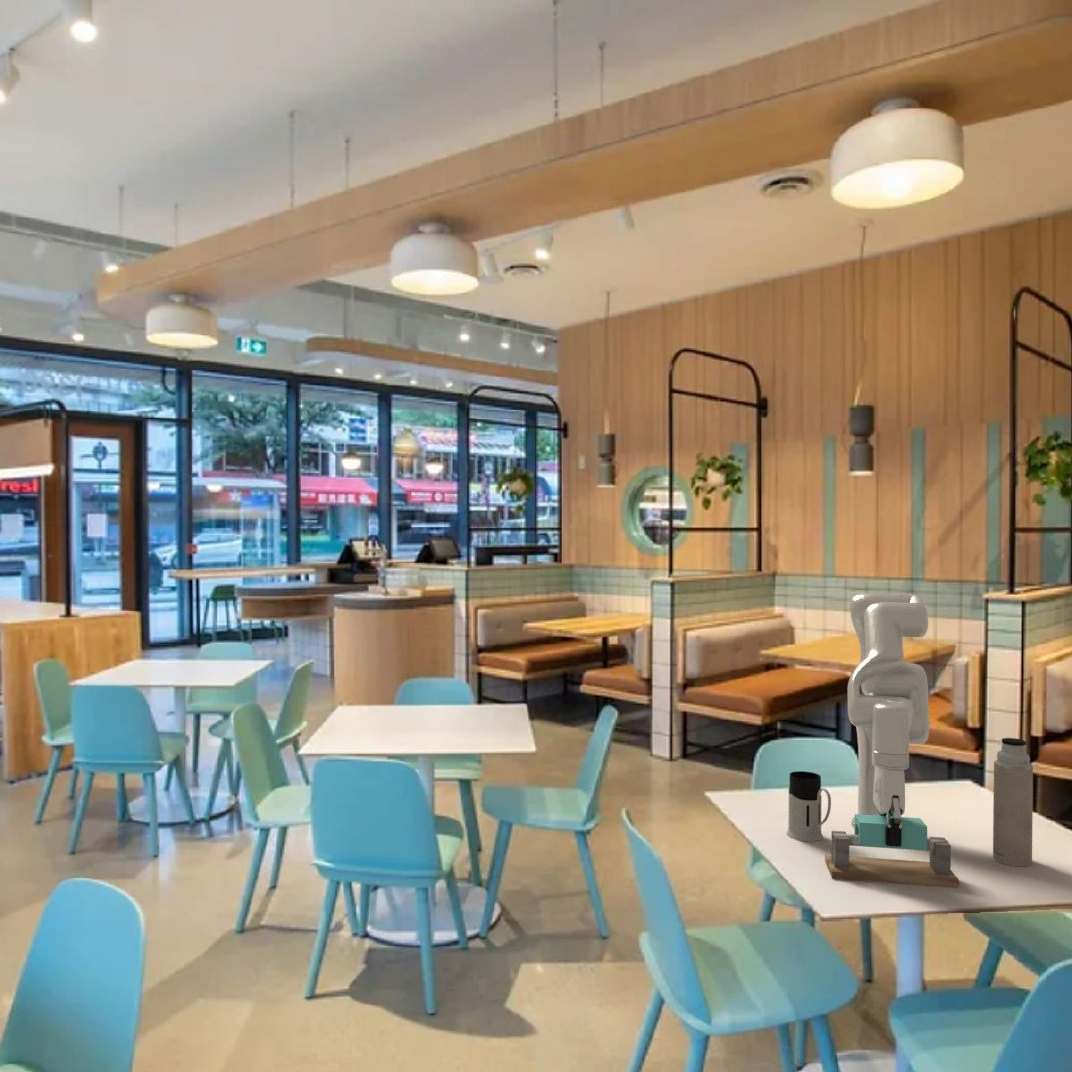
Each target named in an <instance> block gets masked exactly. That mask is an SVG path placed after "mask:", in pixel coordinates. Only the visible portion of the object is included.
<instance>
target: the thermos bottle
mask: <svg viewBox="0 0 1072 1072" xmlns="http://www.w3.org/2000/svg"><path fill="white" fill-rule="evenodd" d="M1026 744H1027V742H1026V741H1025V739H1020V738H1015V737H1003V738H1001V749H1000V750H999V751H997V754H996V760H994V762H993V803H992V804H993V807H992V808H993V809H992V810H993V812H992V813H993V819H992V820H993V821H992V824H993V825H992V827H993V828H992V831H993V832H992V859H994V860H995V861H997V862H999V863H1001V864H1003V865H1008V866H1013V867H1028V866H1031V865H1032V864H1033V815H1034V814H1033V812H1034V810H1033V809H1034V808H1033V807H1034V806H1033V801H1034V799H1033V795H1034V793H1033V792H1034V786H1033V785H1034V780H1033V779H1034V766H1033V765H1032V764H1030V761H1031V758H1030V754H1028V753H1027V752H1026Z"/></svg>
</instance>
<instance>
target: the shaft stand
mask: <svg viewBox="0 0 1072 1072" xmlns="http://www.w3.org/2000/svg"><path fill="white" fill-rule="evenodd" d="M830 839H831V846H830V847H831V848H830V850H831V851H830V853H831V855H829V854H828V855H827V854H824V862H825V865H826V868H827V869H828V872H829V875H830V877H831V879H838V880H846V881H847V880H850V881H863V882H864V881H866V882H877V883H878V882H879V883H890V884H891V883H893V884H906V885H907V884H908V885H909V884H910V885H923V886H935V887H950V888H951V887H952V888H960V881H959V879H958V877H957V876H956V875H955V873H954V872H953V870H952V869H951V862H952V859H951V858H952V855H951V854H952V853H951V852H952V851H951V850H952V848H951V847H952V845H951V844H950V843H949V841H948V840H947V839H946V838H945V837H943V836H942V837H939V836H929V838H927V851H926V852H928V851H929V861H923V860H907V859H893V858H892V859H891V858H889V859H888V858H878V857H877V858H876V857H860V856H850V846H851V847H860V846H859V835H854V833H853V834H851V833H849V834H848V833H847V832H846V831H841V830H838V831H837V830H831V837H830Z"/></svg>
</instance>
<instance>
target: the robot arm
mask: <svg viewBox="0 0 1072 1072" xmlns="http://www.w3.org/2000/svg"><path fill="white" fill-rule="evenodd" d="M849 603H850V604H849V605H850V606H849V611H850V619H851V623H852V626H853V628H854V630H855V633H856V636H857V638H858V639H857V640H858V642H859V648H860V649H859V651H860V652H859V653H860V663H858V665H857V666H856V667H855V668H854V670H853V671H852V672H851V675H850V677H849V680H848V683H847V714H848V716H847V717H848V720H849V721H850V723H851V724H852V725H853V726H855V727H856V735H857V736H856V737H857V747H858V748H857V749H858V750H857V751H858V752H857V753H858V775H857V776H858V778H857V780H858V782H857V783H858V786H857V787H858V791H857V793H858V795H857V799H858V802H857V805H858V807H857V814H860V815H876V816H886V817H887V827H886V832H885V844H886V845H887V846H896V847H900V846H901V838H902V828H901V817H902V816H903V815H904V814H905V812H906V811H905V810H906V809H905V808H906V786H905V785H906V783H905V781H906V778H905V770H908V769H909V767H910V756H909V755H910V745H922V744H925V743H926V742H927V741H928V739H929V737H930V710H929V708H930V707H929V688H928V687H929V686H928V684H929V683H928V676H927V673H926V670H925V669H924V667H923V666H922V665H920V664H917V663H913V662H911V663H910V662H904V661H905V658H904V645H903V644H904V643H903V638H922V637H924V636H926V634H927V633H928V629H929V616H928V612H927V608H926V605H925V603H924V602H923V600H922V598H921V597H920V596H919V595H918V594H915V593H914V594H913V593H892V592H891V593H890V592H889V593H888V592H887V593H886V592H864V593H857V594H856V595H853V597H852V598H851V600H850V602H849ZM860 689H861V690H862V693H863V694H861V692H860V691H861V690H860ZM890 816H893V818H891V821H890ZM854 822H855V816H853V817H852V819H851V825H852V826H853V827H854Z"/></svg>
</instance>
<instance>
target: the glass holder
mask: <svg viewBox="0 0 1072 1072" xmlns="http://www.w3.org/2000/svg"><path fill="white" fill-rule="evenodd" d="M821 786H822V777H821V774H818V773H815V772H811V771H802V770H799V771H791V772H790V773H789V786H788V829H787V831H786V836H787V837H789V838H790V839H793V840H797V841H800V842H801V841H802V842H818V841H821V840H823V839H824V835H823V833H822V825H824V824H825V823H826V822H827V820H828V818H829V817H830V814H831V809H832V808H831V807H832V797H831V793H830V792H829V791H828V790H827V788H823V787H821ZM822 791H824V792H825V794H826V796H827V809H826V814H825V817H824V819H823V820H822Z"/></svg>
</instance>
